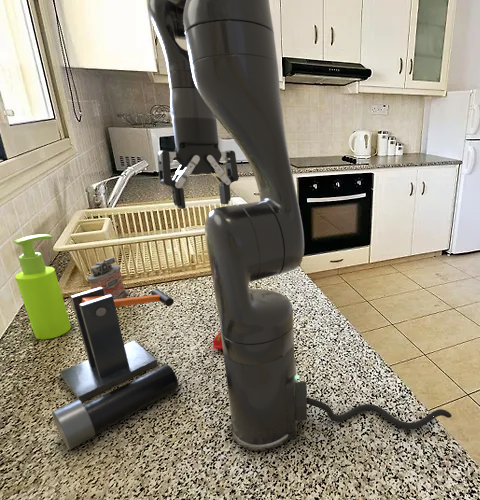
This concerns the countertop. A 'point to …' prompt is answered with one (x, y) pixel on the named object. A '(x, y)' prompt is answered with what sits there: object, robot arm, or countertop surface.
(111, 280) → the lighter
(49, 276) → the soap dispenser
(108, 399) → the flashlight
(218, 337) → the candy bar
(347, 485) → the countertop surface
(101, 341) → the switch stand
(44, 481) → the countertop surface
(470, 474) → the countertop surface
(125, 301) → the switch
